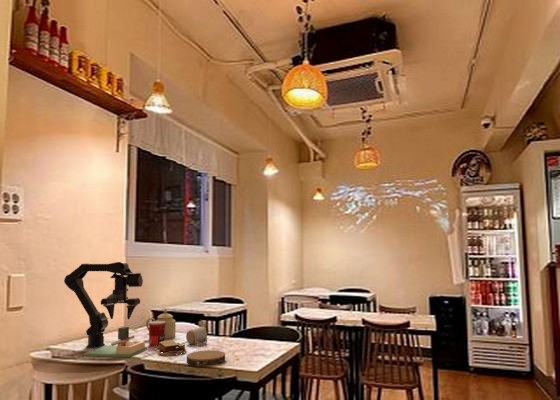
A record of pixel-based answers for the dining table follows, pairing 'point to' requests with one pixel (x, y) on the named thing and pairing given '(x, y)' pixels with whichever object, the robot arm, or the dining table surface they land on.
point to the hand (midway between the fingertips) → (120, 319)
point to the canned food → (156, 332)
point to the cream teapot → (166, 324)
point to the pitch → (118, 350)
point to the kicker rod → (123, 336)
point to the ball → (129, 343)
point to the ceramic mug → (197, 336)
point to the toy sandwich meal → (171, 348)
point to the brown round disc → (206, 358)
